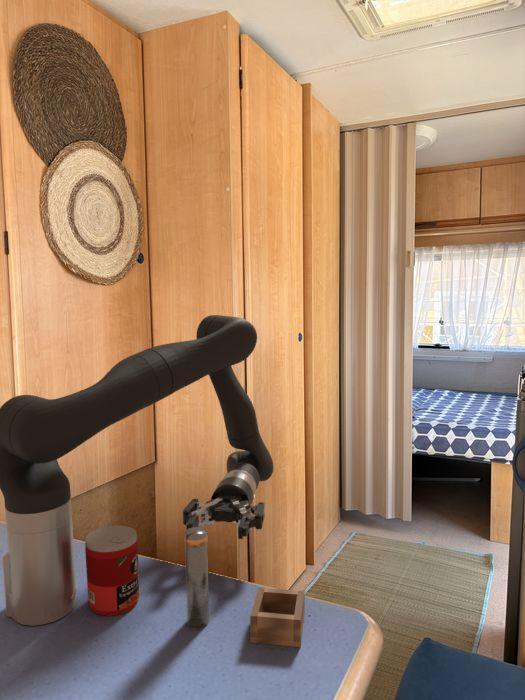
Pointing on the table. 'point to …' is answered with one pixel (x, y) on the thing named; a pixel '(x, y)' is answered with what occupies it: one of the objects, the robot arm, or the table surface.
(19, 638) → the table surface
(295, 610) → the wooden masu cup
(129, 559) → the canned food
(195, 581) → the cylinder
